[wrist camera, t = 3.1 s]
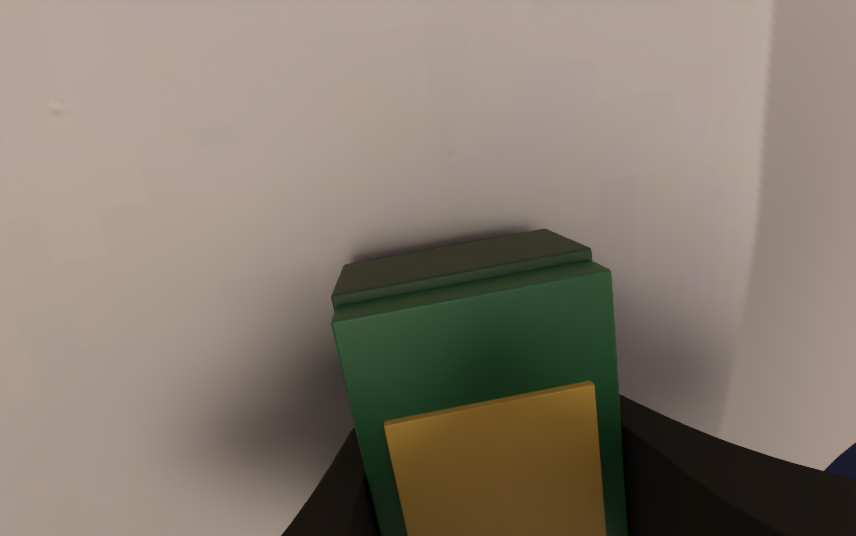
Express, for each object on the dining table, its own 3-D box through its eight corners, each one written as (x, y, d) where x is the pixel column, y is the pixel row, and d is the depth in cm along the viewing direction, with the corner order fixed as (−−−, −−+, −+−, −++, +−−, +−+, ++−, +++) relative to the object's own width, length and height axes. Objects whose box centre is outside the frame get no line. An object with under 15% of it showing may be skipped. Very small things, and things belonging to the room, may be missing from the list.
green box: (568, 532, 13) (645, 691, 9) (412, 566, 13) (424, 744, 9) (535, 223, 11) (619, 258, 7) (346, 257, 11) (323, 313, 7)
